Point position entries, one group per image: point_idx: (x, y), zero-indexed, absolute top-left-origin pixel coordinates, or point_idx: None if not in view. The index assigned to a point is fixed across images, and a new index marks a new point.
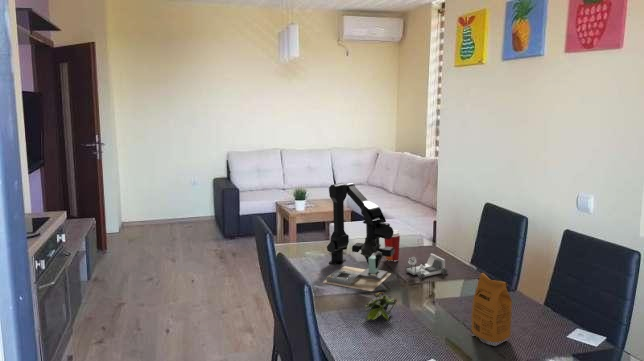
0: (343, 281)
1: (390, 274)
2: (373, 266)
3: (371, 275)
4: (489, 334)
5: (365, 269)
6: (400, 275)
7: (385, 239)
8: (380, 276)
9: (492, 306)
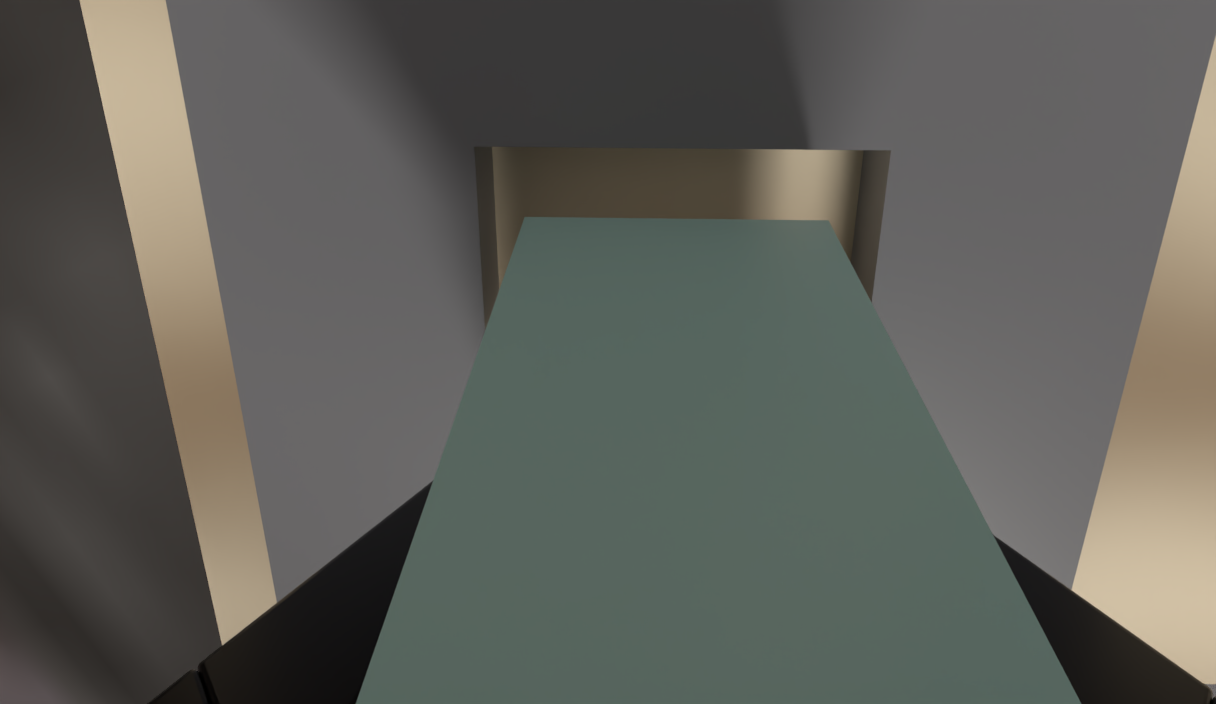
0: None
1: (211, 591)
2: (557, 375)
3: (645, 95)
4: None
5: None
6: (30, 679)
7: None
8: (238, 137)
9: None
